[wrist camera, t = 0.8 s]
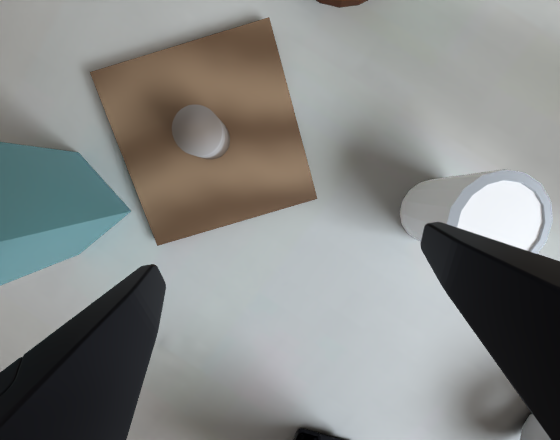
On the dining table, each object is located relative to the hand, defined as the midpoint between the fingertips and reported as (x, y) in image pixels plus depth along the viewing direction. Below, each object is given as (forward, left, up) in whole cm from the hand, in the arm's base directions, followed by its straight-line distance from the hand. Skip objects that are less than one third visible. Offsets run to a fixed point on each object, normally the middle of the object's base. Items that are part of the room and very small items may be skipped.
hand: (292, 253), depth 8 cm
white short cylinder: (+4, -13, -14) cm, 19 cm away
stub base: (+3, +7, -14) cm, 16 cm away
